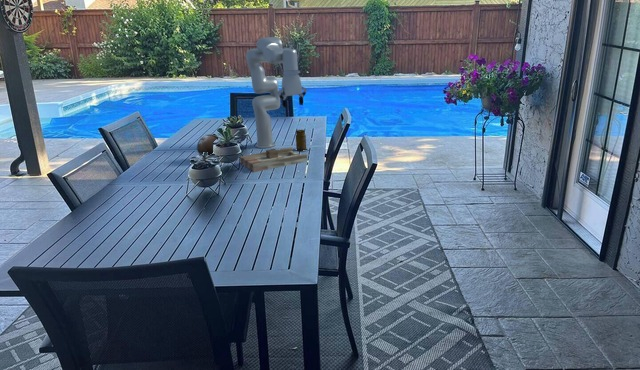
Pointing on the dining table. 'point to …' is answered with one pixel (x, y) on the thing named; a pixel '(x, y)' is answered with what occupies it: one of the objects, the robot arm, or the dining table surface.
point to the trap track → (272, 160)
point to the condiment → (300, 140)
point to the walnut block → (272, 153)
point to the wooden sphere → (206, 144)
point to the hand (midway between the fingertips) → (293, 106)
